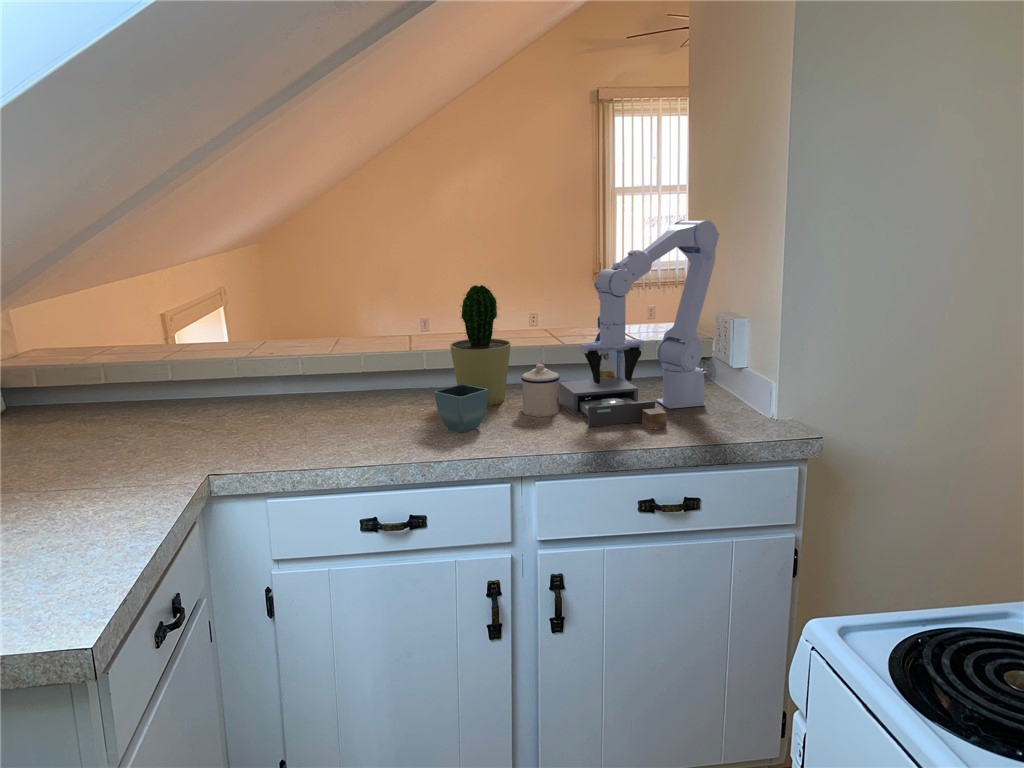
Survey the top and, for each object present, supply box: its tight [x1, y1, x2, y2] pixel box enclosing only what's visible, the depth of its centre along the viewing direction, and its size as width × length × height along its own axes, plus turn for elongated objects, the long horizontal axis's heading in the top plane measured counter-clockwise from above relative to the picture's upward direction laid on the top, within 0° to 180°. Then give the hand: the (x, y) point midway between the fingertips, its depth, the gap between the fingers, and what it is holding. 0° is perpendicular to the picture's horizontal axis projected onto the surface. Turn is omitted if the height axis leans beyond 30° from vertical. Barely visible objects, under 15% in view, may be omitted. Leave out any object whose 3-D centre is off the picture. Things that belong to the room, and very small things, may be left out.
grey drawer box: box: [559, 377, 639, 417], centre depth 181 cm, size 16×13×5 cm
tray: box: [579, 398, 656, 427], centre depth 171 cm, size 16×12×4 cm
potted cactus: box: [449, 284, 512, 407], centre depth 186 cm, size 15×15×30 cm
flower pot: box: [433, 384, 488, 434], centre depth 165 cm, size 9×9×9 cm
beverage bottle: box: [594, 315, 627, 381], centre depth 193 cm, size 8×8×20 cm
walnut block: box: [641, 407, 668, 430], centre depth 164 cm, size 4×4×4 cm
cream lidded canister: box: [521, 363, 561, 418], centre depth 178 cm, size 12×9×12 cm
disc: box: [600, 398, 625, 405], centre depth 172 cm, size 6×6×2 cm
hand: (612, 381), depth 171 cm, fingers open, 7 cm apart
